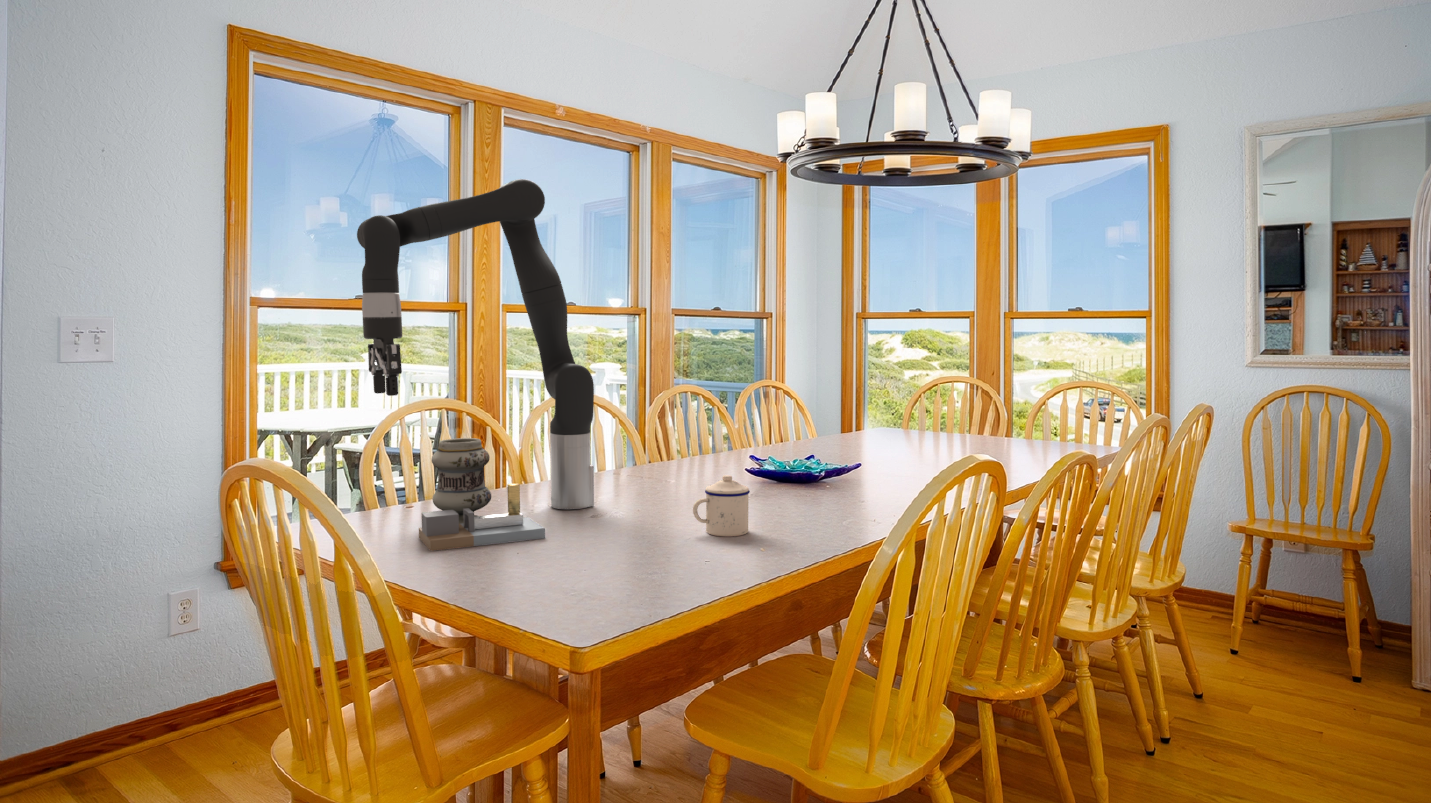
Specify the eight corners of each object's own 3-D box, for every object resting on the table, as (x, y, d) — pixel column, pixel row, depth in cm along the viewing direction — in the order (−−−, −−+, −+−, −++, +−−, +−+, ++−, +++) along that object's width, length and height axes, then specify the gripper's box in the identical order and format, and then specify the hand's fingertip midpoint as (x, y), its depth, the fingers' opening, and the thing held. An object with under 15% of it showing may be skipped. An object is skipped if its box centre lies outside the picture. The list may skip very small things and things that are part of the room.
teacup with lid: (737, 525, 188) (738, 470, 187) (757, 534, 180) (757, 477, 179) (684, 530, 184) (684, 474, 183) (702, 540, 175) (702, 481, 174)
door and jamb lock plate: (527, 526, 187) (527, 499, 187) (545, 538, 177) (544, 509, 176) (418, 537, 177) (418, 509, 177) (430, 550, 167) (429, 520, 166)
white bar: (519, 521, 182) (519, 483, 181) (523, 524, 180) (522, 484, 179) (470, 527, 177) (469, 487, 176) (473, 529, 175) (472, 489, 174)
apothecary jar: (450, 516, 197) (448, 435, 195) (501, 519, 194) (500, 437, 193) (421, 528, 185) (419, 442, 183) (475, 531, 182) (474, 444, 181)
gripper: (411, 315, 180) (415, 395, 181) (390, 315, 191) (393, 391, 193) (373, 315, 175) (377, 397, 177) (353, 316, 187) (357, 393, 188)
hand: (386, 394), depth 185 cm, fingers open, 8 cm apart
